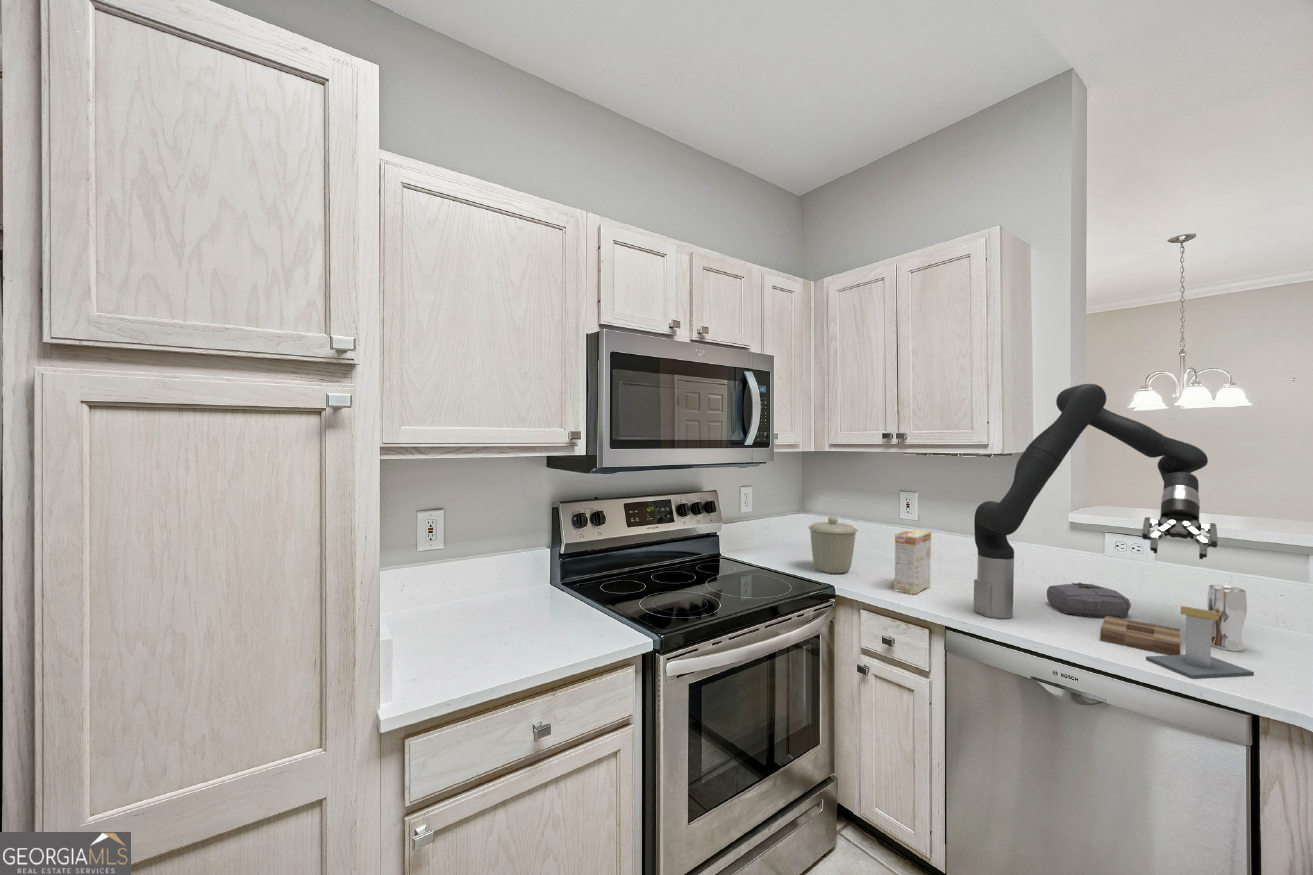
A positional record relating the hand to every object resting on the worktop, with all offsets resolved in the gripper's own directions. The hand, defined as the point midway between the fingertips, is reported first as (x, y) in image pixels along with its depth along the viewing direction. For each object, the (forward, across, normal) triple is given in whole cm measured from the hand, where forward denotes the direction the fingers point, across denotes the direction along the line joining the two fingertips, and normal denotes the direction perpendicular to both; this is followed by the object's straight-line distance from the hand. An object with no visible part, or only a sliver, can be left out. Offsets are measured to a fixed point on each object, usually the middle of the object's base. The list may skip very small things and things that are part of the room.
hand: (1177, 554), depth 140 cm
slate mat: (+27, +4, +6) cm, 28 cm away
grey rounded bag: (+4, -19, +29) cm, 35 cm away
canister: (+13, -97, +20) cm, 100 cm away
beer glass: (+11, +9, +22) cm, 26 cm away
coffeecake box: (+15, -66, +18) cm, 70 cm away
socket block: (+19, -7, +14) cm, 24 cm away
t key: (+27, +4, +5) cm, 27 cm away
